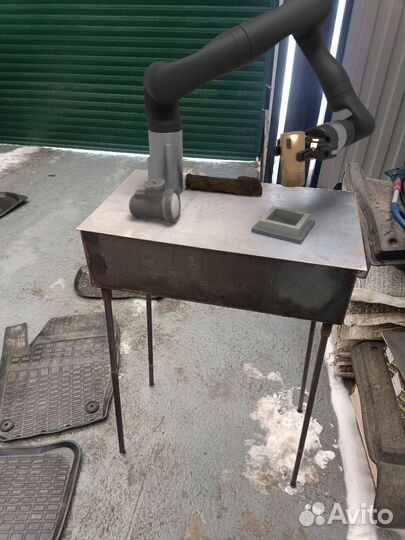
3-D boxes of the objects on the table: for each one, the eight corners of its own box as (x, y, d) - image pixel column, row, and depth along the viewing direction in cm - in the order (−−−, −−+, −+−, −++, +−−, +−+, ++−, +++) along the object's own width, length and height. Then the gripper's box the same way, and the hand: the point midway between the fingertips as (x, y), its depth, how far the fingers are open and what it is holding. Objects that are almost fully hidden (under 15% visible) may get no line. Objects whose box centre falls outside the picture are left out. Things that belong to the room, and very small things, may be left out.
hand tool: (183, 191, 113) (183, 172, 110) (189, 185, 117) (189, 167, 114) (259, 201, 107) (261, 182, 104) (262, 195, 111) (264, 177, 108)
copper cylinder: (277, 187, 86) (276, 136, 81) (285, 180, 90) (284, 131, 85) (300, 187, 84) (300, 135, 78) (307, 180, 88) (308, 130, 82)
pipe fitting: (184, 212, 98) (178, 174, 92) (175, 228, 92) (168, 189, 86) (141, 212, 101) (132, 175, 95) (130, 227, 95) (120, 189, 89)
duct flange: (251, 232, 90) (252, 220, 89) (268, 214, 99) (270, 203, 98) (300, 244, 85) (302, 232, 84) (314, 224, 94) (316, 213, 93)
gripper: (300, 119, 95) (261, 130, 84) (356, 128, 86) (320, 142, 76) (296, 149, 99) (258, 164, 88) (349, 161, 91) (314, 179, 80)
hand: (287, 154), depth 82 cm, fingers closed on copper cylinder, 5 cm apart
